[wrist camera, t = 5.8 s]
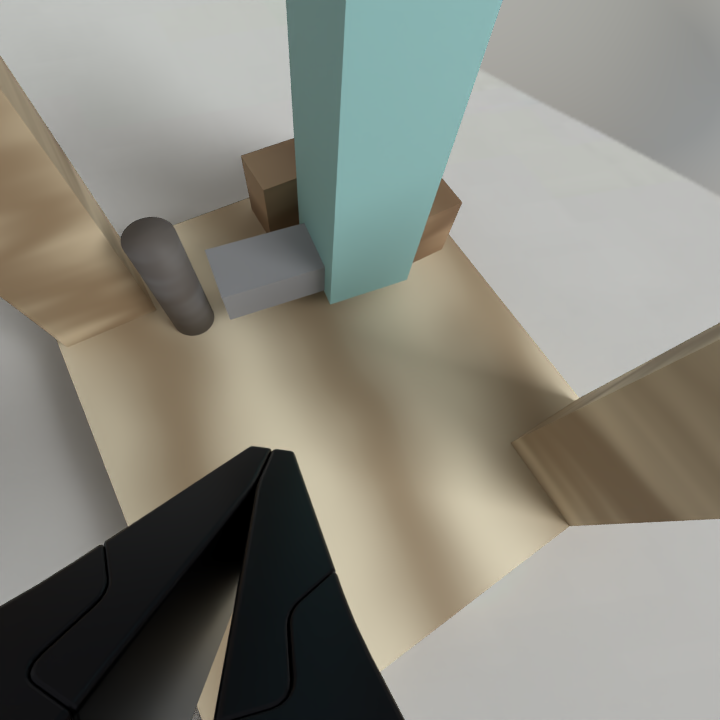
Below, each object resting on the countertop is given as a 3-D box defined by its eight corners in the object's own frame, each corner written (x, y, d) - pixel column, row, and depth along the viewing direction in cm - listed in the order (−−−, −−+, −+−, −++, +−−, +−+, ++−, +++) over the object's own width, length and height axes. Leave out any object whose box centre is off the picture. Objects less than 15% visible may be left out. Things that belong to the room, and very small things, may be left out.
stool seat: (240, 754, 14) (-93, 1684, 3) (59, 302, 19) (-291, -20, 8) (606, 479, 18) (1047, 389, 7) (375, 179, 24) (426, -131, 13)
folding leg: (235, 335, 16) (6, -232, 4) (210, 263, 17) (-27, -341, 5) (406, 279, 18) (582, -234, 6) (373, 218, 19) (466, -318, 7)
